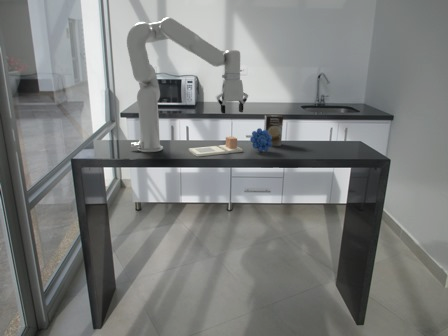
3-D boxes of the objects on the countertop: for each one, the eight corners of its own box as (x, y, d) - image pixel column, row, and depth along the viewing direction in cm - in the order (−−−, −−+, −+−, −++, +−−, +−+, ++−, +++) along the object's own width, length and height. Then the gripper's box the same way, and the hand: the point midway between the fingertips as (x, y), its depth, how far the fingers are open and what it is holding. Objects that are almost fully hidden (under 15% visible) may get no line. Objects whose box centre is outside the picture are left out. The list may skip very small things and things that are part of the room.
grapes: (252, 154, 175) (253, 130, 171) (248, 150, 181) (249, 127, 177) (274, 153, 177) (276, 129, 173) (270, 150, 183) (271, 127, 180)
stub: (228, 153, 176) (228, 140, 174) (218, 147, 186) (218, 136, 184) (242, 151, 179) (243, 139, 177) (232, 146, 189) (232, 135, 187)
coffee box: (264, 146, 192) (266, 116, 187) (262, 143, 198) (264, 114, 193) (281, 146, 192) (283, 116, 187) (279, 143, 198) (281, 114, 194)
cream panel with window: (197, 156, 169) (197, 154, 169) (188, 150, 179) (188, 148, 179) (227, 153, 175) (227, 150, 175) (217, 148, 186) (217, 145, 185)
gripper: (219, 78, 165) (219, 114, 170) (251, 77, 172) (251, 112, 177) (212, 77, 172) (213, 112, 177) (244, 76, 179) (244, 110, 184)
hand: (232, 112), depth 177 cm, fingers open, 9 cm apart
